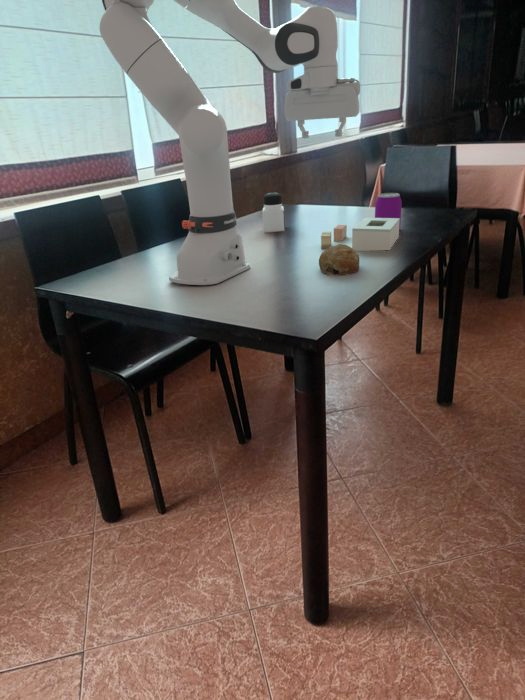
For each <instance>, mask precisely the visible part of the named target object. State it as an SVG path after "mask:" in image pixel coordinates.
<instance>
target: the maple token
mask: <svg viewBox="0 0 525 700" xmlns="http://www.w3.org/2000/svg"><path fill="white" fill-rule="evenodd" d="M320 241H321V242H320V248H321V250H326V249H329V248H331V247H332V231H322V232H321V235H320Z"/></svg>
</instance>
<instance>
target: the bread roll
mask: <svg viewBox="0 0 525 700" xmlns="http://www.w3.org/2000/svg"><path fill="white" fill-rule="evenodd" d="M318 266H319V270H320V271H321V273H322V274H325V275H327V276H329V275H333V276H347V275H346V274H349V275H352V273H353V274H355V272H356V273H357V272H359V270H360V255H359V252H358V251H355V250H354V249H353V248H352V246H349V245H346V244H342V243H338V244H336V245H333V246H331V247H330V248H329V249H323V251H322V252H321V254H320V255H319V259H318Z"/></svg>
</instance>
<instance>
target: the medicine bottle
mask: <svg viewBox="0 0 525 700" xmlns="http://www.w3.org/2000/svg"><path fill="white" fill-rule="evenodd" d="M282 198H283V197H282V194H281V193H279V192H269V193H266V194H264V195H263V208H262V225H263V226H262V227H263V233H265V234H266V233H275V232H285V230H286V227H285V226H286V225H285V221H286V220H285V209H284V208H285V207H284V206H283V199H282Z"/></svg>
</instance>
